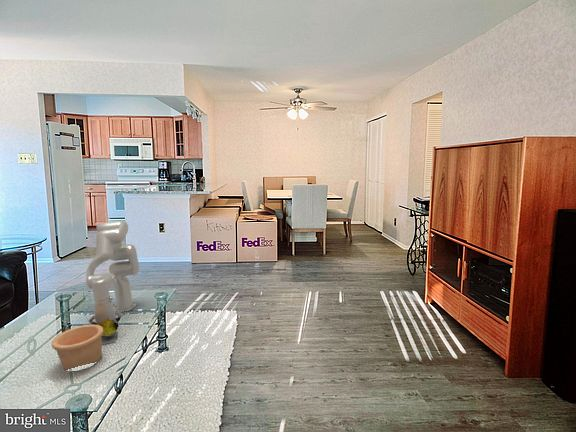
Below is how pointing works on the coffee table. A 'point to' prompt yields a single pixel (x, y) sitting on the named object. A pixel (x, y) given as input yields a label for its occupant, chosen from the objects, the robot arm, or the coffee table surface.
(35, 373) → the coffee table surface
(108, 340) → the mat
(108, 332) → the supplement box
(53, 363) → the coffee table surface
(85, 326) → the pottery
